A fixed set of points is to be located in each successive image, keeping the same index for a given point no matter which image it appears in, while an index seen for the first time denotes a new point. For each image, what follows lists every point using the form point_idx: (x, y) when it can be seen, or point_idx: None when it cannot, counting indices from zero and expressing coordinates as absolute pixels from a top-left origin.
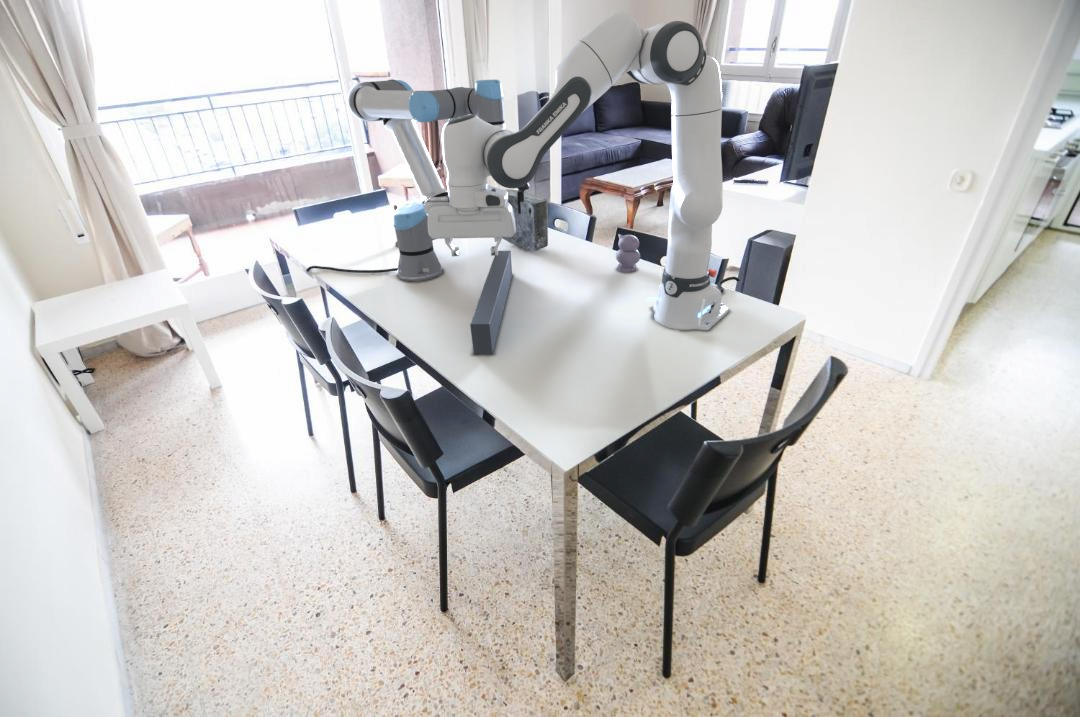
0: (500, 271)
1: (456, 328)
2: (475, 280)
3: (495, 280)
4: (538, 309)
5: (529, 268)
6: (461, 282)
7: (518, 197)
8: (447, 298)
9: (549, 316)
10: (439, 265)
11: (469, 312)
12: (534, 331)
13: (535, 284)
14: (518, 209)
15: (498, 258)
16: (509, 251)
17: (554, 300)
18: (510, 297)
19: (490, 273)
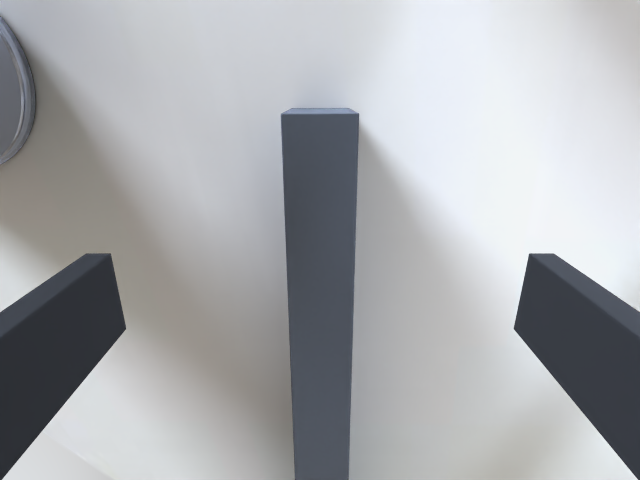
0: (336, 365)
1: (239, 455)
2: (207, 160)
3: (327, 432)
4: (441, 375)
5: (423, 23)
6: (157, 178)
7: (636, 460)
8: (156, 306)
9: (467, 409)
10: (2, 76)
11: (250, 387)
12: (425, 468)
13: (441, 205)
14: (537, 353)
15: (308, 228)
16: (354, 128)
17: (493, 325)
18: (357, 303)
19: (299, 380)
